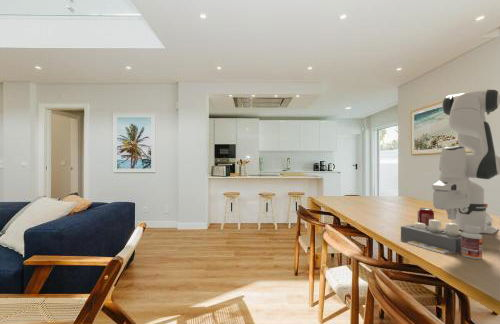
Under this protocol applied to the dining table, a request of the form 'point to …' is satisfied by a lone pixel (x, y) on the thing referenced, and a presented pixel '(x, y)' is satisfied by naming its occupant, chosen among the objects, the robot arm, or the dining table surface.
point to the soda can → (425, 215)
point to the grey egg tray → (432, 238)
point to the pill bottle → (471, 242)
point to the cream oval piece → (419, 225)
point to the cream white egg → (435, 226)
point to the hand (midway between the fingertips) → (452, 219)
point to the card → (428, 247)
